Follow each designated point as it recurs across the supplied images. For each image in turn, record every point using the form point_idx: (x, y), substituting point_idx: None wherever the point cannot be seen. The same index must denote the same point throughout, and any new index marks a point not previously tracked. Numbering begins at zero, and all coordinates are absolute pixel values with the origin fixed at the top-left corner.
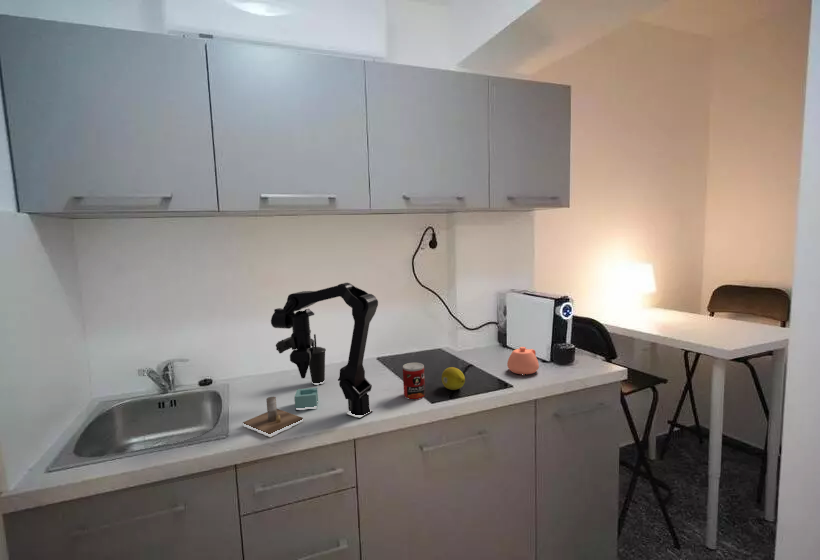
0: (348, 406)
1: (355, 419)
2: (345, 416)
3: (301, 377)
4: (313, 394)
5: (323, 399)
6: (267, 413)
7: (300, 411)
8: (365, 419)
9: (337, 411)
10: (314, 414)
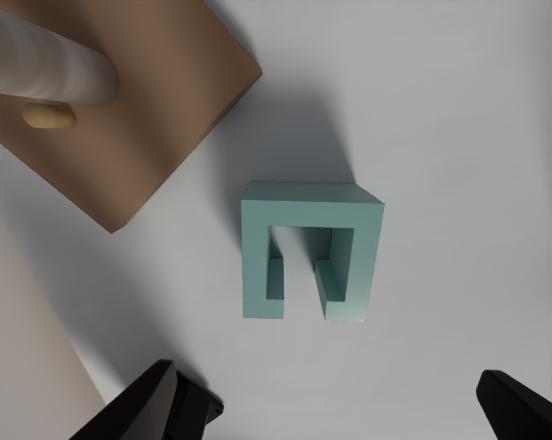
0: (181, 398)
1: None
2: None
3: (151, 367)
4: (251, 306)
5: None
6: (190, 21)
7: None
8: None
9: (209, 343)
10: (198, 265)
